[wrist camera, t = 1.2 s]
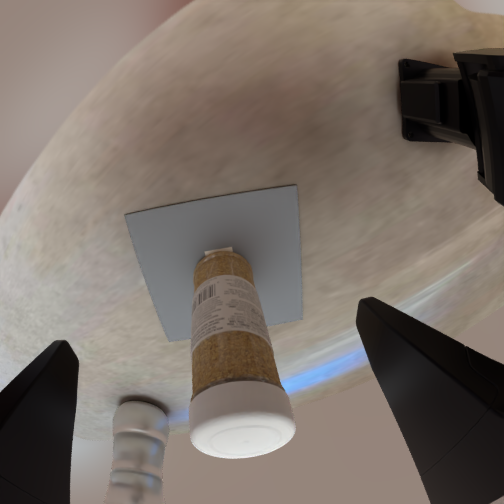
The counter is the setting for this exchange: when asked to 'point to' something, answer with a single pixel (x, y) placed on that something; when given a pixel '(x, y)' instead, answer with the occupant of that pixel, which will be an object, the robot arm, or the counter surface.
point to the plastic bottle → (138, 454)
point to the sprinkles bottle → (233, 365)
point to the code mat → (221, 239)
